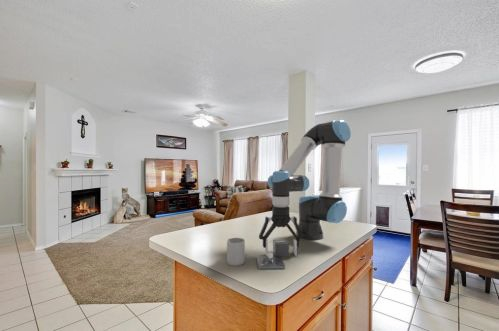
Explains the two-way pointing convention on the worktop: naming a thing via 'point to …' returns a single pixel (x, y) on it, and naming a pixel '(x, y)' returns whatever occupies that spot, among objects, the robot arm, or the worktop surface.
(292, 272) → the worktop surface
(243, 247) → the cup
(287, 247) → the dark grey cube
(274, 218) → the robot arm
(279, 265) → the base plate
